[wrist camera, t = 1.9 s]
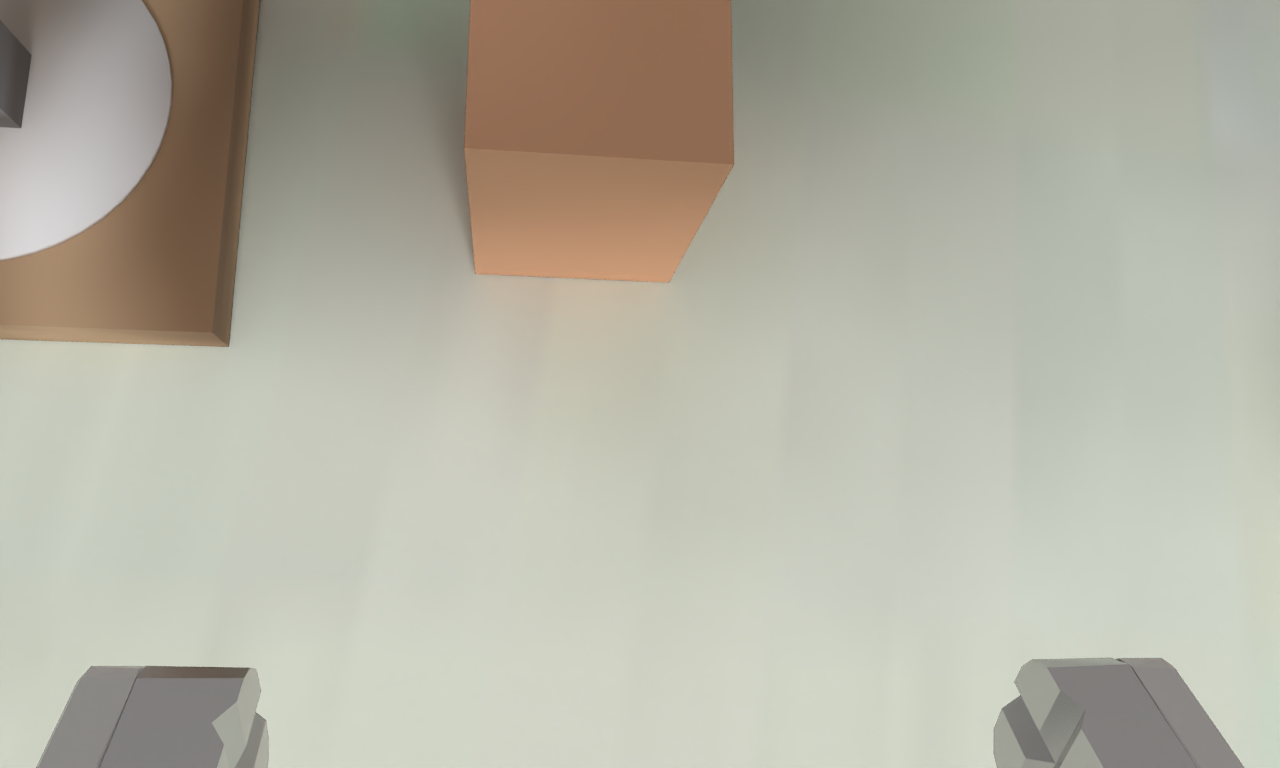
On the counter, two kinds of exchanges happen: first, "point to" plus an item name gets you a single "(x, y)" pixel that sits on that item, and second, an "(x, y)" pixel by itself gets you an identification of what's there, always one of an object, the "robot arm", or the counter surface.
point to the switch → (122, 167)
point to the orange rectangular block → (595, 133)
